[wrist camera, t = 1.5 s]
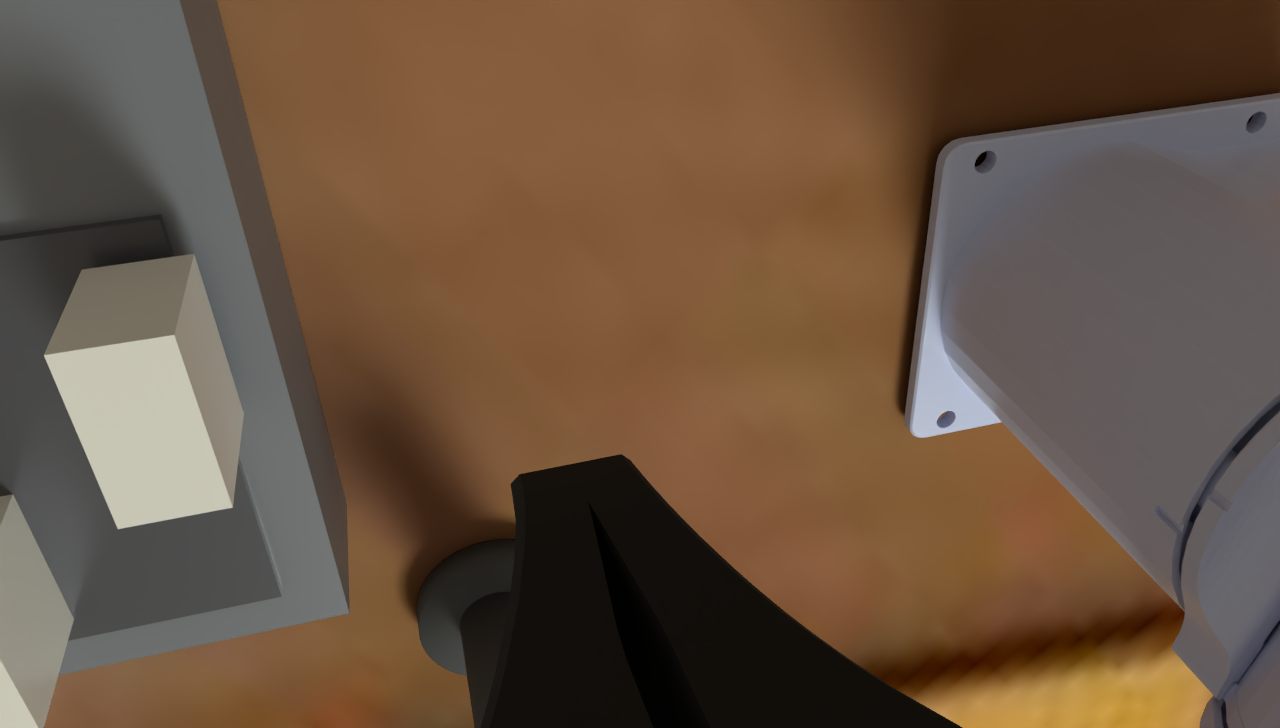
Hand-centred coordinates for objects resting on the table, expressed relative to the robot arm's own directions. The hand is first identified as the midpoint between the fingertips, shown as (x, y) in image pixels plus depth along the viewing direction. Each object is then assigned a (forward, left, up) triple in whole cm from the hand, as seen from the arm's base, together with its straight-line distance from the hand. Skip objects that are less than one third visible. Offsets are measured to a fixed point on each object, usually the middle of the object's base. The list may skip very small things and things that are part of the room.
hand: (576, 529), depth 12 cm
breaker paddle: (+5, 0, -6) cm, 8 cm away
